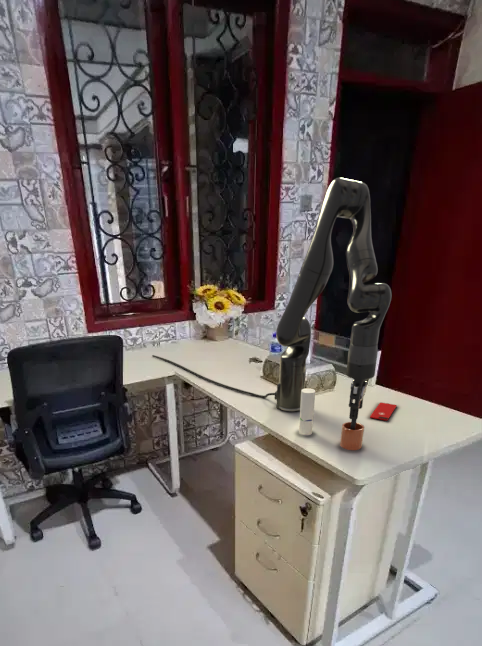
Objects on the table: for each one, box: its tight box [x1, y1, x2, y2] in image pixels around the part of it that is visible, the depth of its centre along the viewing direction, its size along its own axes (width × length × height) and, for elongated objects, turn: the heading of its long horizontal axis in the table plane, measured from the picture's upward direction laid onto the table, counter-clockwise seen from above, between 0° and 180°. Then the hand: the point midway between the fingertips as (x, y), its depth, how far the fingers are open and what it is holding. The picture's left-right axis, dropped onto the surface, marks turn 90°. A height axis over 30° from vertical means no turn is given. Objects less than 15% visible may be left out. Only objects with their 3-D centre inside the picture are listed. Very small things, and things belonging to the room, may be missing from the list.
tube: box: [298, 387, 316, 436], centre depth 133 cm, size 4×4×15 cm
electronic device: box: [369, 402, 398, 422], centre depth 148 cm, size 6×1×15 cm
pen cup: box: [339, 421, 365, 451], centre depth 125 cm, size 6×6×7 cm
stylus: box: [350, 419, 357, 430], centre depth 124 cm, size 1×1×12 cm
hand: (355, 413), depth 122 cm, fingers open, 8 cm apart
